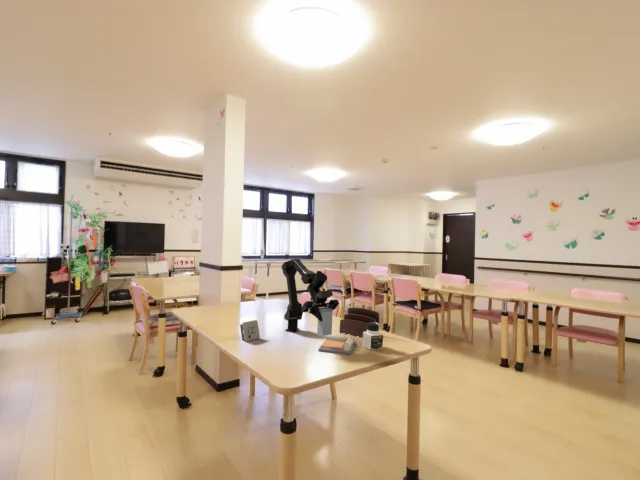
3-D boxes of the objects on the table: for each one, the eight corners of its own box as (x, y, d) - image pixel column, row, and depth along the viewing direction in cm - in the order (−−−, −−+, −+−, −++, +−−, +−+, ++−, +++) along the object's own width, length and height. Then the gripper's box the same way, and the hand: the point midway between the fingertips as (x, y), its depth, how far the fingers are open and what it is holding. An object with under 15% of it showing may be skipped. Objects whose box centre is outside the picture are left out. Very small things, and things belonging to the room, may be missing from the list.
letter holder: (347, 329, 194) (348, 305, 194) (379, 336, 183) (380, 310, 183) (339, 333, 186) (340, 308, 186) (371, 340, 175) (372, 313, 175)
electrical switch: (245, 342, 162) (245, 323, 163) (238, 341, 165) (238, 322, 166) (260, 338, 169) (259, 320, 170) (253, 337, 173) (253, 319, 173)
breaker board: (327, 340, 171) (327, 332, 171) (355, 343, 167) (356, 335, 167) (318, 351, 153) (318, 342, 153) (350, 355, 150) (351, 346, 150)
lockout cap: (316, 332, 159) (318, 307, 159) (326, 331, 162) (327, 307, 162) (322, 335, 154) (323, 310, 154) (331, 334, 157) (332, 309, 157)
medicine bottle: (370, 350, 158) (371, 325, 158) (362, 346, 164) (363, 321, 164) (382, 348, 161) (383, 324, 161) (373, 344, 167) (374, 320, 167)
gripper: (305, 284, 157) (316, 312, 147) (338, 283, 166) (350, 309, 157) (297, 298, 163) (306, 326, 154) (328, 296, 173) (339, 322, 164)
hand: (326, 320), depth 157 cm, fingers closed on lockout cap, 5 cm apart
